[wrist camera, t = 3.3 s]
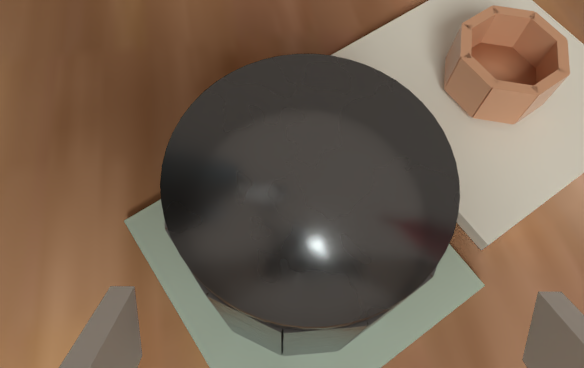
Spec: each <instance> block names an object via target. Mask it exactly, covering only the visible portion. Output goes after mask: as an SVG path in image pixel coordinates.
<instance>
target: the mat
mask: <svg viewBox="0 0 584 368" xmlns="http://www.w3.org/2000/svg"><path fill="white" fill-rule="evenodd" d="M124 222H125V224H126V226H127V227H128V229H129V231H130V232H131V234H132V236H133V237H134V239H135V241H136V243H137V244H138V246H139V248H140V249H141V251H142V253H143V254H144V256H145V258H146V260H147V261H148V263H149V265H150V266H151V268H152V270H153V272H154V273H155V275H156V277H157V278H158V280H159V282H160V283H161V285H162V287H163V289H164V290H165V292H166V294H167V295H168V297H169V299H170V300H171V302H172V304H173V306H174V307H175V309H176V311H177V312H178V314H179V316H180V318H181V319H182V321H183V323H184V324H185V326H186V328H187V329H188V331H189V333H190V335H191V336H192V338H193V340H194V341H195V343H196V345H197V346H198V348H199V350H200V352H201V353H202V355H203V357H204V358H205V360H206V362H207V364H208V365H209V367H210V368H381V367H382V366H383V365H385V364H386V363H387V362H389V361H390V360H391V359H392V358H394V357H395V356H396V355H397V354H399V353H400V352H401V351H402V350H404V349H405V348H406V347H408V346H409V345H410V344H411V343H413V342H414V341H415V340H416V339H418V338H419V337H420V336H422V335H423V334H424V333H425V332H427V331H428V330H429V329H430V328H432V327H433V326H434V325H435V324H437V323H438V322H439V321H441V320H442V319H443V318H444V317H446V316H447V315H448V314H449V313H451V312H452V311H453V310H454V309H456V308H457V307H458V306H460V305H461V304H462V303H463V302H465V301H466V300H467V299H468V298H470V297H471V296H472V295H474V294H475V293H476V292H477V291H479V290H480V289H481V288H482V287H484V286H485V285H484V284H483V283H482V281H481V280H480V279H479V278H478V277H477V276H476V274H475V273H474V272H473V271H472V270H471V269H470V267H469V266H468V265H467V264H466V263H465V262H464V260H463V259H462V258H461V257H460V256H459V255H458V253H457V252H456V251H455V250H454V249H453V248H452V246H451V245H450V244H449V245H448V247H447V250H446V252H445V253H444V255H443V257H442V258H441V260H440V261H439V263H438V265H437V268H436V271H435V273H434V276H433V277H432V279H430V280H429V281H428V282H427V283H425V284H424V285H423V286H422V287H420V288H419V289H418V290H417V291H415V292H414V293H413V294H412V295H410V296H409V297H408V298H407V299H405V300H404V301H403V302H402V303H400V304H399V305H398V306H397V307H395V308H394V309H393V310H392V311H390V312H389V313H388V314H387V315H385V316H384V317H383V318H382V319H380V320H379V321H378V322H376V323H375V324H374V325H372V326H371V327H370V328H368V329H367V330H366V331H365V332H363V333H362V334H361V335H359V336H358V337H357V338H355V339H354V340H353V341H351V342H350V343H349V344H347V345H346V346H345V347H343V348H342V349H341V350H339V351H337V352H327V353H316V354H304V355H293V356H283V354H282V356H280V355H278V354H276V353H274V352H272V351H270V350H268V349H266V348H264V347H262V346H260V345H258V344H256V343H254V342H252V341H250V340H248V339H246V338H244V337H242V336H240V335H238V334H236V333H234V332H233V331H232V330H231V329H230V328H229V326H228V325H227V324H226V322H225V321H224V319H223V318H222V317H221V315H220V314H219V313H218V311H217V310H216V309H215V307H214V306H213V305H212V303H211V302H210V301H209V299H208V298H207V297H206V295H205V294H204V292H203V291H202V289H201V287H200V286H199V284H198V282H197V281H196V279H195V278H194V276H193V274H192V273H191V271H190V269H189V268H188V266H187V265H186V263H185V261H184V260H183V259H182V257H181V256H180V254H179V252H178V250H177V248H176V247H175V245H174V244H173V242H172V240H171V239H170V237H169V236H168V234H167V232H166V231H165V230H166V229H165V219H164V214H163V209H162V204H161V199H160V200H158V201H157V202H155V203H153V204H152V205H150V206H148V207H147V208H145V209H143V210H141V211H140V212H138V213H136V214H135V215H133V216H131V217H130V218H128V219H126V220H124Z"/></svg>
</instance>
